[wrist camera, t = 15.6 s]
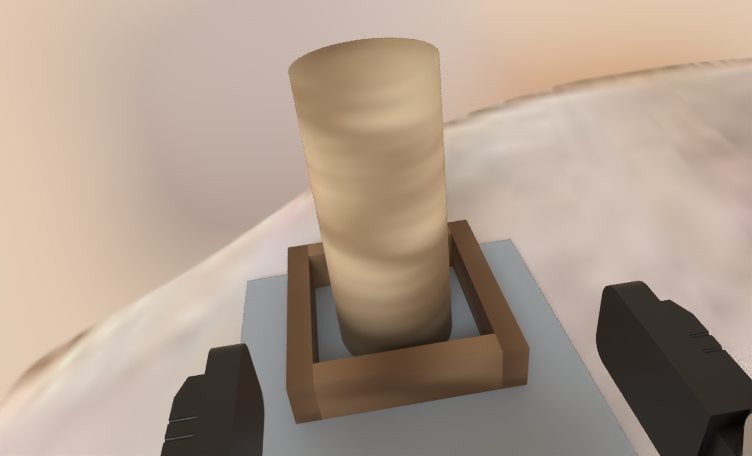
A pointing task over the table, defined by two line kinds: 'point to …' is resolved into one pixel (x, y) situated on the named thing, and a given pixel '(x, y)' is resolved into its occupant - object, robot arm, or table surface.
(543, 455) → the board
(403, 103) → the maple pillar
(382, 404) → the socket collar
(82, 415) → the table surface
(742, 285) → the table surface
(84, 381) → the table surface
